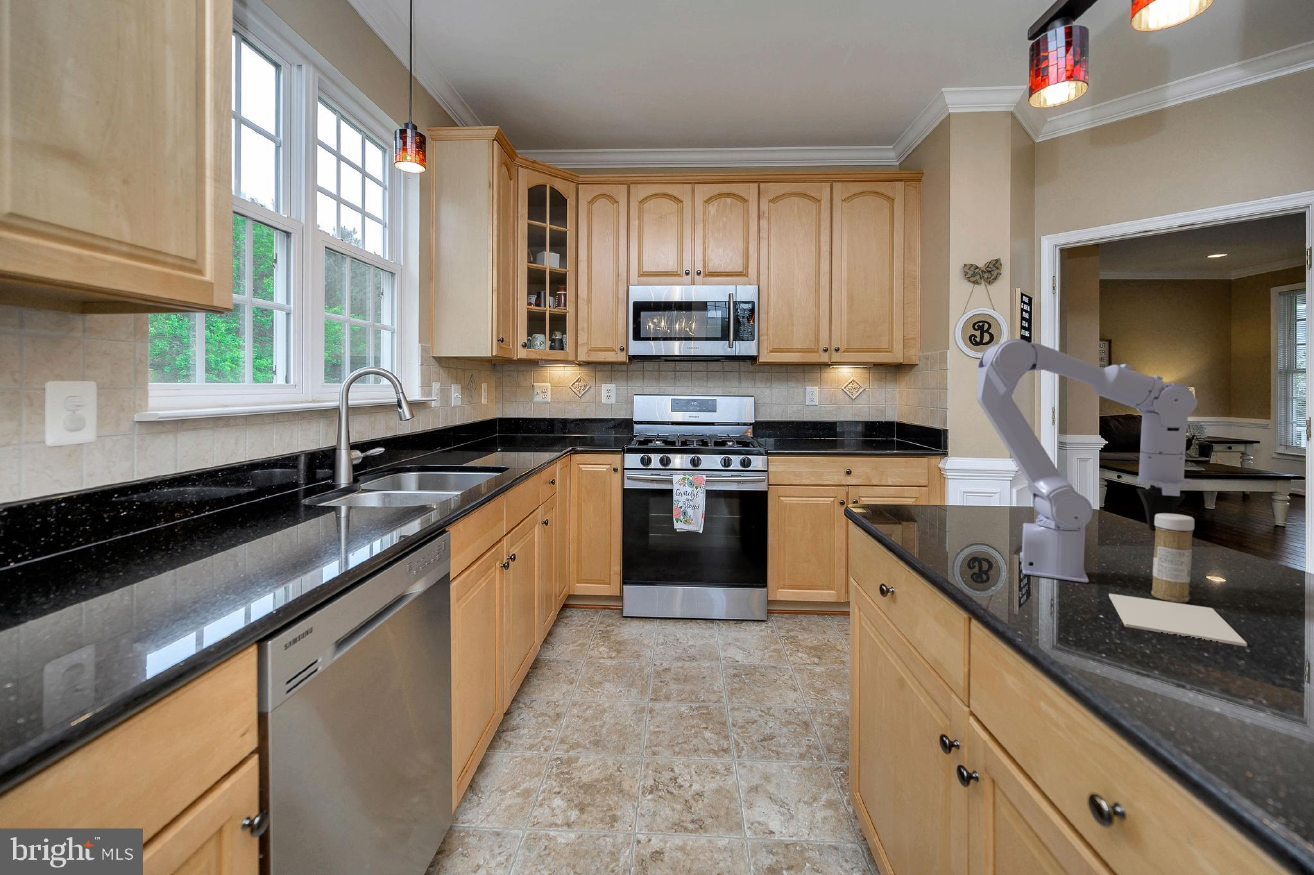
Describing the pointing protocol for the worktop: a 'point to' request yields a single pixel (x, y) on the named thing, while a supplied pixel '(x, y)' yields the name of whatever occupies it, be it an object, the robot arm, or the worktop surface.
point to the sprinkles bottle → (1172, 557)
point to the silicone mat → (1174, 619)
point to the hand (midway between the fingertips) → (1157, 530)
